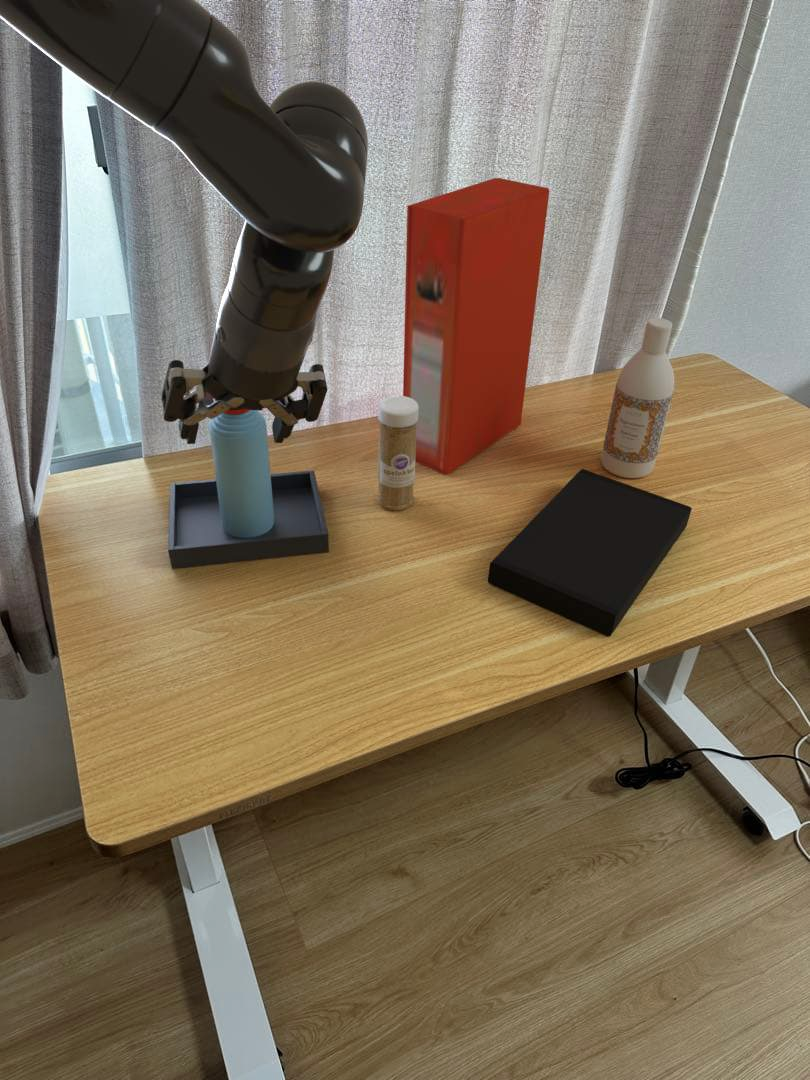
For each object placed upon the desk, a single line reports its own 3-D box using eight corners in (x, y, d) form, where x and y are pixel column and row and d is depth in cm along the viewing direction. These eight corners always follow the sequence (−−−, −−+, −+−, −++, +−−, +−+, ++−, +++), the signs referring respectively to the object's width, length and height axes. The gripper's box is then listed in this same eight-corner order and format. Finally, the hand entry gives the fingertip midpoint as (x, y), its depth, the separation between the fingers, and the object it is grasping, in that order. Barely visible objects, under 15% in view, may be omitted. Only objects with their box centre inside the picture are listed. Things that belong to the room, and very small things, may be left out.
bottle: (222, 540, 91) (203, 398, 80) (221, 510, 95) (202, 371, 84) (276, 535, 92) (264, 394, 81) (272, 505, 96) (260, 368, 86)
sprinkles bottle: (387, 515, 97) (389, 416, 88) (370, 496, 100) (371, 398, 91) (420, 506, 98) (426, 408, 90) (403, 487, 101) (407, 390, 93)
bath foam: (592, 470, 106) (622, 325, 94) (609, 447, 111) (639, 306, 99) (644, 485, 103) (681, 338, 91) (659, 461, 108) (696, 319, 96)
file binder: (399, 454, 108) (407, 204, 88) (473, 408, 119) (495, 176, 99) (448, 476, 104) (467, 219, 84) (520, 426, 115) (552, 188, 95)
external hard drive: (487, 582, 87) (490, 561, 85) (577, 487, 103) (581, 467, 101) (610, 637, 81) (616, 615, 79) (686, 527, 96) (692, 507, 95)
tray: (171, 569, 87) (168, 550, 86) (173, 500, 98) (170, 482, 96) (329, 552, 91) (328, 533, 89) (314, 487, 101) (314, 470, 99)
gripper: (339, 299, 69) (298, 404, 83) (168, 289, 64) (154, 402, 78) (355, 372, 67) (309, 467, 81) (178, 367, 61) (162, 470, 75)
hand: (233, 435), depth 79 cm, fingers open, 8 cm apart
